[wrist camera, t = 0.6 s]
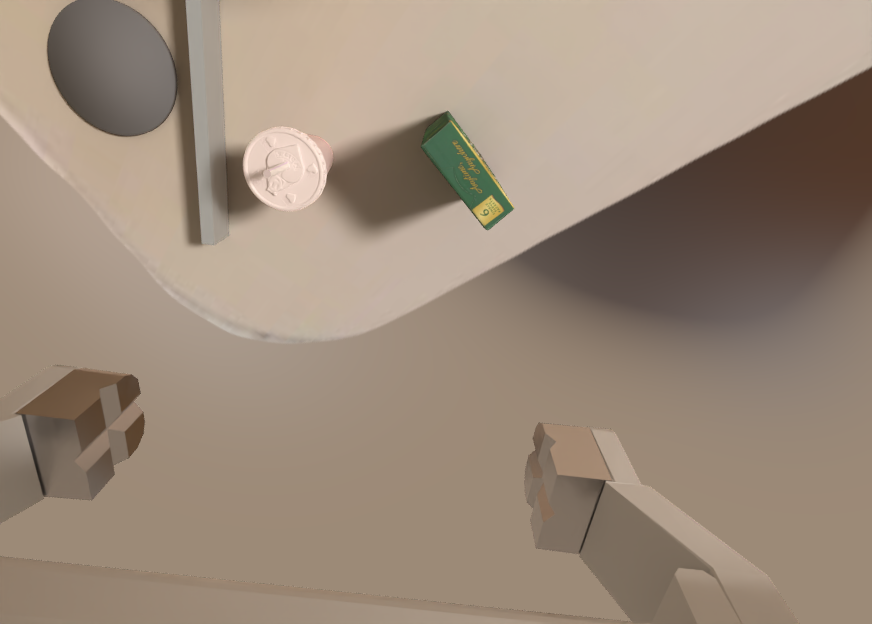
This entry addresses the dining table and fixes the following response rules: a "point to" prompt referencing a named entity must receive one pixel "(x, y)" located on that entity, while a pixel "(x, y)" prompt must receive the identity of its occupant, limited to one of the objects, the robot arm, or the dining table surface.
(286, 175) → the smoothie
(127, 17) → the pad
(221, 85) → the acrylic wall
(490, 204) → the coffee box
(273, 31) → the dining table surface
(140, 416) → the robot arm
